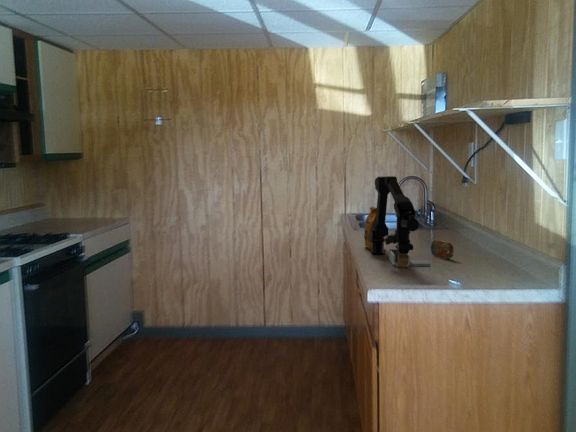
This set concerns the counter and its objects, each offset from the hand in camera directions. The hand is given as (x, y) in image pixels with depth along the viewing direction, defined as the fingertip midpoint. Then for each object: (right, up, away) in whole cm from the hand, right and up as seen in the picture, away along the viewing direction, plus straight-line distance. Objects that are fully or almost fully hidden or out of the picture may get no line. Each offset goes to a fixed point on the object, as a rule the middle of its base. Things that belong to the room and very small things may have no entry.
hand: (402, 262), depth 252 cm
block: (0, -1, -2) cm, 2 cm away
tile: (+9, -1, +3) cm, 9 cm away
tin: (+23, 0, +19) cm, 30 cm away
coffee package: (-6, +3, +43) cm, 44 cm away
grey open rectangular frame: (0, -1, +8) cm, 8 cm away
